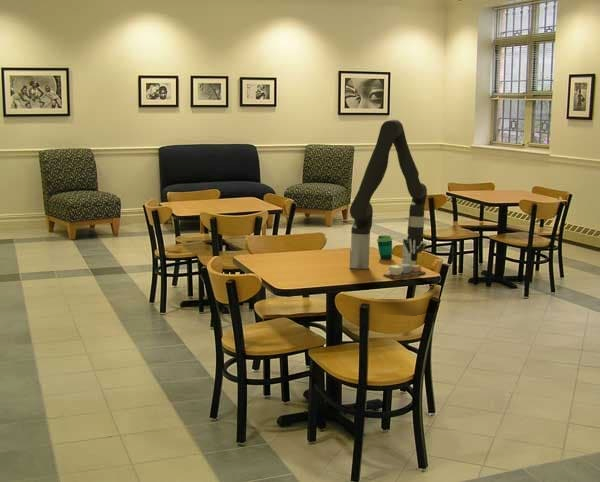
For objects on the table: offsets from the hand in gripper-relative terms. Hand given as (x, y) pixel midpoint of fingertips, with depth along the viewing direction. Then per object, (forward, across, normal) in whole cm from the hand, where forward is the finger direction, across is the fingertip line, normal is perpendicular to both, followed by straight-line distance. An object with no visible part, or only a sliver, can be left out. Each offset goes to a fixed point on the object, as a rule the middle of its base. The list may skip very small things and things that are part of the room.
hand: (413, 260), depth 386 cm
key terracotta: (+6, 0, 0) cm, 6 cm away
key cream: (+5, 0, +13) cm, 14 cm away
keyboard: (+6, 0, +6) cm, 9 cm away
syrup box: (+7, +12, -11) cm, 17 cm away
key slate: (+5, 0, +6) cm, 8 cm away
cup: (+7, +33, -15) cm, 36 cm away
